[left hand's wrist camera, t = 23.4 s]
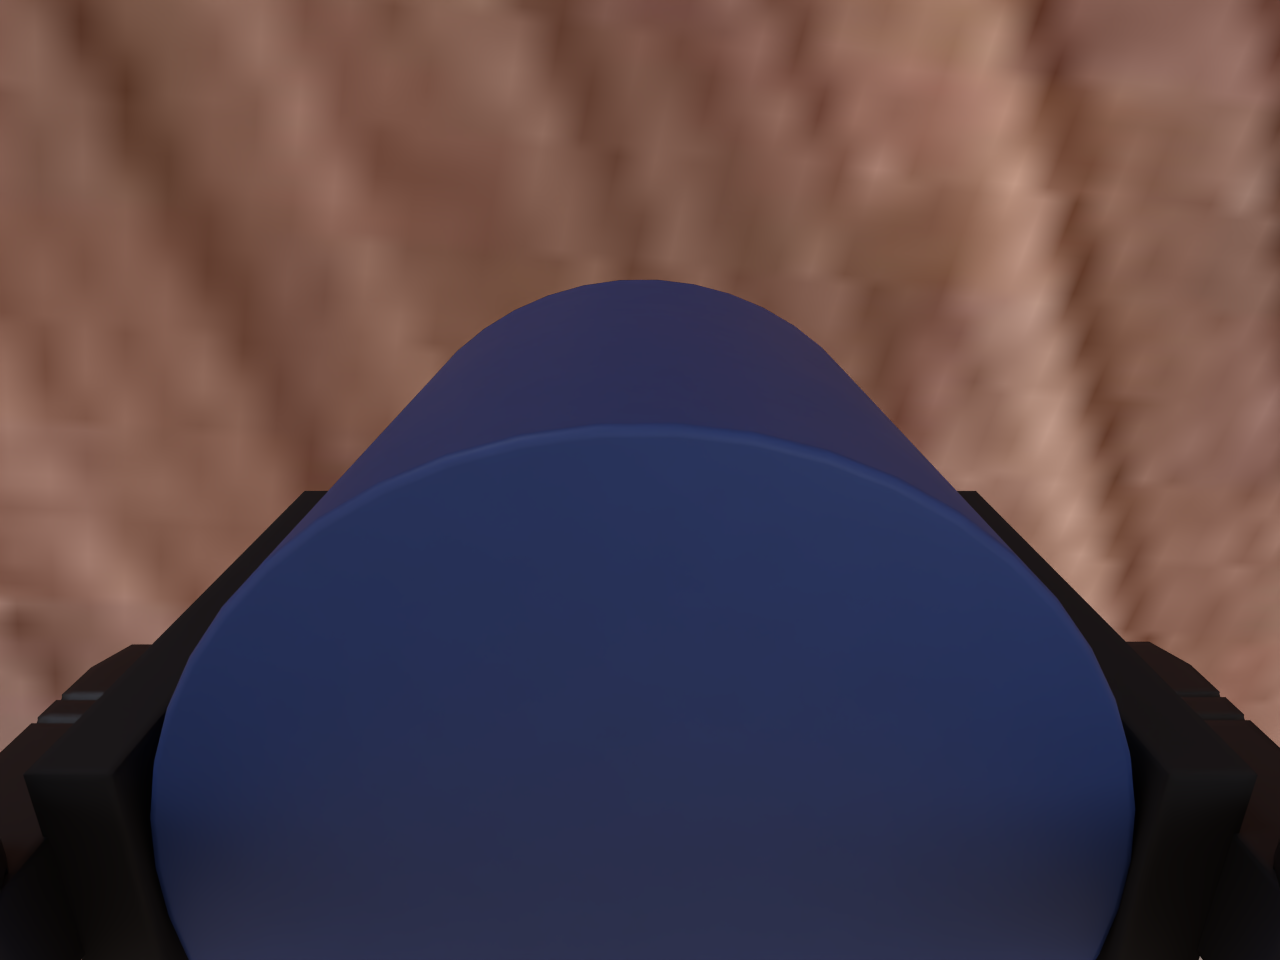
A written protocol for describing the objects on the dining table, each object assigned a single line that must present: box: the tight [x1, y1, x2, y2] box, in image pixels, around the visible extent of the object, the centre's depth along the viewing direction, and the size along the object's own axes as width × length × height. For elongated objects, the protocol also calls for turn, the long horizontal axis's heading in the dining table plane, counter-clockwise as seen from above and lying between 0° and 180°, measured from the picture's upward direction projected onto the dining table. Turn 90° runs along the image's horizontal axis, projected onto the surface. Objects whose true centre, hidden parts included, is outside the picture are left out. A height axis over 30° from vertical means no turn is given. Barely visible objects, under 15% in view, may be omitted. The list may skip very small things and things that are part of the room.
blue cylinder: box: [150, 280, 1135, 960], centre depth 12 cm, size 9×9×8 cm
